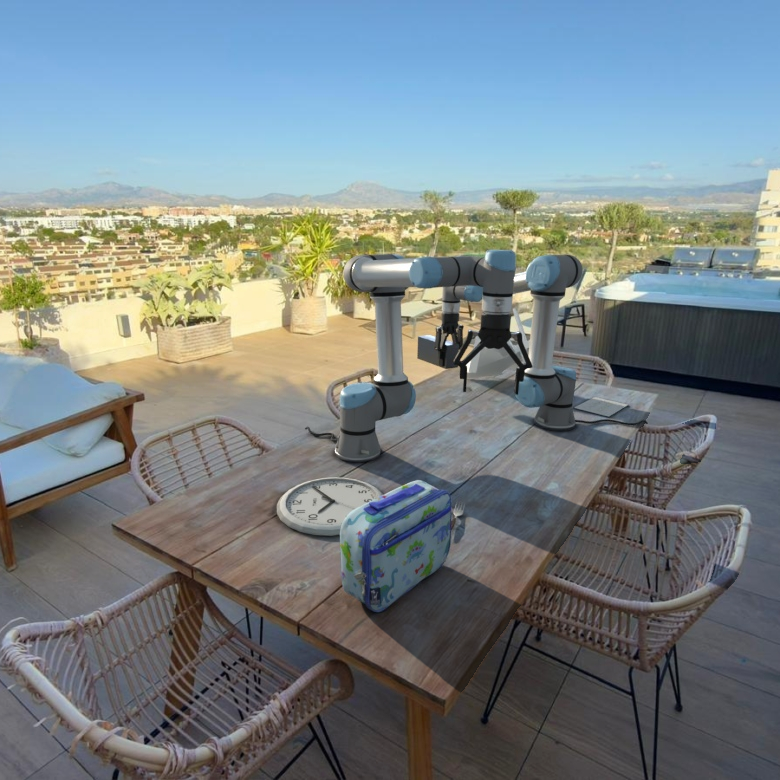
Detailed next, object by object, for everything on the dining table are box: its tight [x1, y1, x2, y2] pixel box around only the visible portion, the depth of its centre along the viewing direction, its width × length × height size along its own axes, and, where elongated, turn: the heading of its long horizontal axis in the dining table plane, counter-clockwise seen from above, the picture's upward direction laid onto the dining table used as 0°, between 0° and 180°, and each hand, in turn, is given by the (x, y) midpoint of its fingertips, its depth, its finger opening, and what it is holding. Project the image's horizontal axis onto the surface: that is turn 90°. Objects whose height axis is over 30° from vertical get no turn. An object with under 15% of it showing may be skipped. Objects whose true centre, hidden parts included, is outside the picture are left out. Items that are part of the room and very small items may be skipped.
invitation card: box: [573, 396, 629, 418], centre depth 226 cm, size 21×1×15 cm
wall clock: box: [276, 476, 385, 537], centre depth 142 cm, size 30×2×30 cm
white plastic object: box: [466, 307, 530, 380], centre depth 256 cm, size 37×45×31 cm
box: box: [416, 334, 459, 370], centre depth 233 cm, size 22×7×10 cm, turn 32°
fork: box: [451, 500, 466, 531], centre depth 135 cm, size 3×16×2 cm, turn 160°
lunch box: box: [339, 479, 452, 613], centre depth 109 cm, size 26×11×21 cm, turn 134°
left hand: (490, 391), depth 140 cm, fingers open, 13 cm apart
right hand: (447, 364), depth 228 cm, fingers closed on box, 7 cm apart
